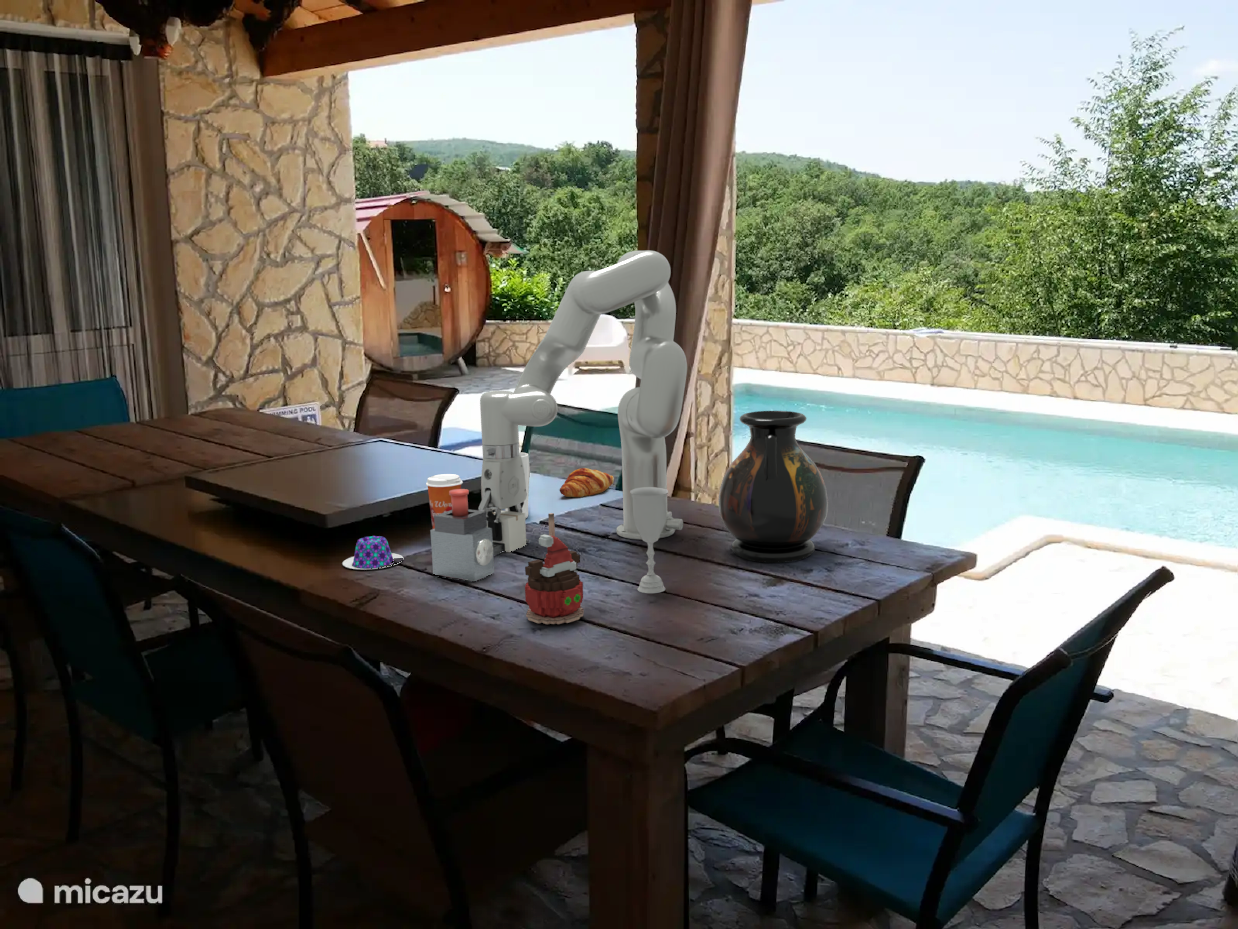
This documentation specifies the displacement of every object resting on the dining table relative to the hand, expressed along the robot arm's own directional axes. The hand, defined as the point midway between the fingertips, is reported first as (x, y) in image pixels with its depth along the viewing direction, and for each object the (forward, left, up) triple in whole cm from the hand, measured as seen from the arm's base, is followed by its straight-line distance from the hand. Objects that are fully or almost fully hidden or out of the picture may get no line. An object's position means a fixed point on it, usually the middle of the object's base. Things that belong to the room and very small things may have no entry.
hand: (505, 535), depth 224 cm
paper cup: (+15, 0, -3) cm, 15 cm away
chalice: (-41, +12, -3) cm, 43 cm away
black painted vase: (-52, -19, -3) cm, 55 cm away
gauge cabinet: (-4, +19, -3) cm, 20 cm away
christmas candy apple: (-34, +33, -3) cm, 48 cm away
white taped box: (0, 0, -3) cm, 3 cm away
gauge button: (-4, +19, +9) cm, 22 cm away
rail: (0, +3, -3) cm, 4 cm away
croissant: (+12, -54, -3) cm, 55 cm away
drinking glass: (+13, -23, -3) cm, 26 cm away
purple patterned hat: (+18, +20, -3) cm, 27 cm away
